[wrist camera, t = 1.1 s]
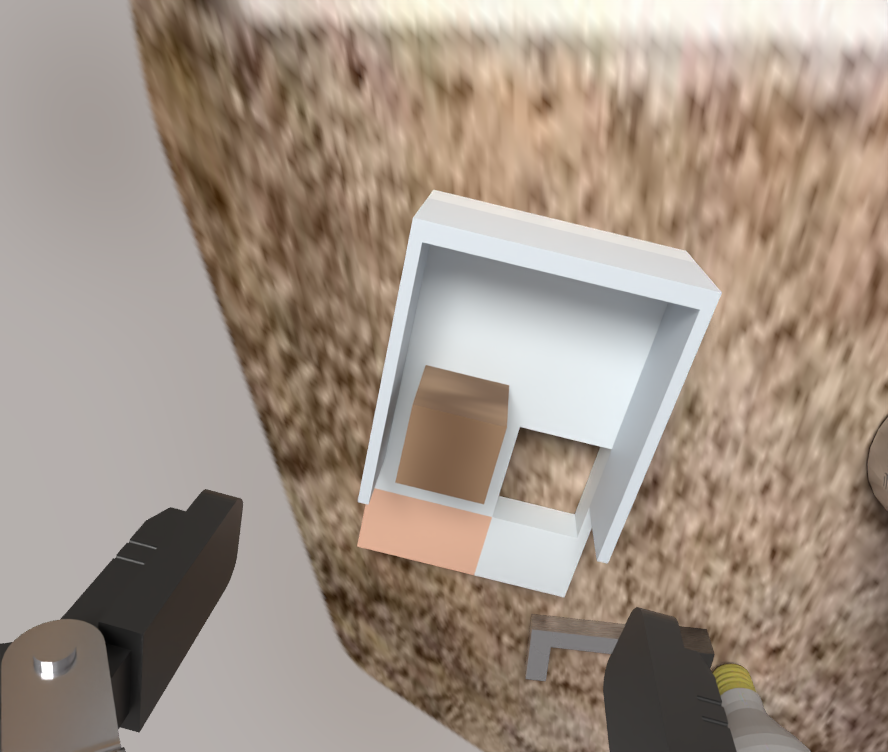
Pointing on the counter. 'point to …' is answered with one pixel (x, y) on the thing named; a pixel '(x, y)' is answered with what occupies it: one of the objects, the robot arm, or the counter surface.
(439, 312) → the cubby
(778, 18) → the counter surface
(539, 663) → the hook tool
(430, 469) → the walnut cube
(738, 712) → the light bulb
